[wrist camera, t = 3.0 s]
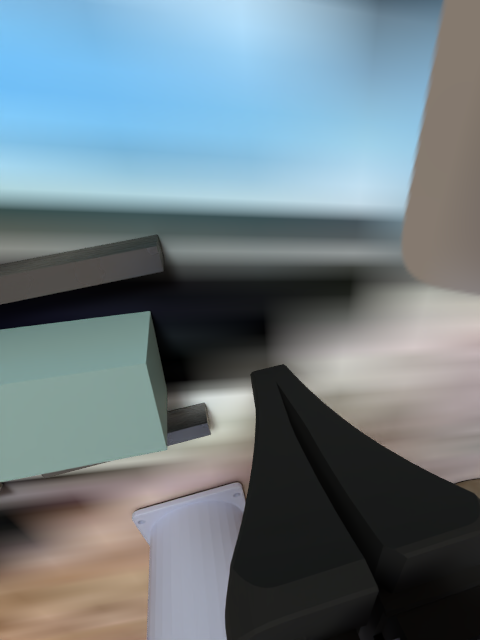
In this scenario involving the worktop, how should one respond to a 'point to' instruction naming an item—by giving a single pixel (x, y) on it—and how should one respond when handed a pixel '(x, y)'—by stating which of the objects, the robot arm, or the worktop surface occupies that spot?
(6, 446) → the painted block
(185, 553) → the robot arm
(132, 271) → the chute
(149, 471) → the worktop surface
